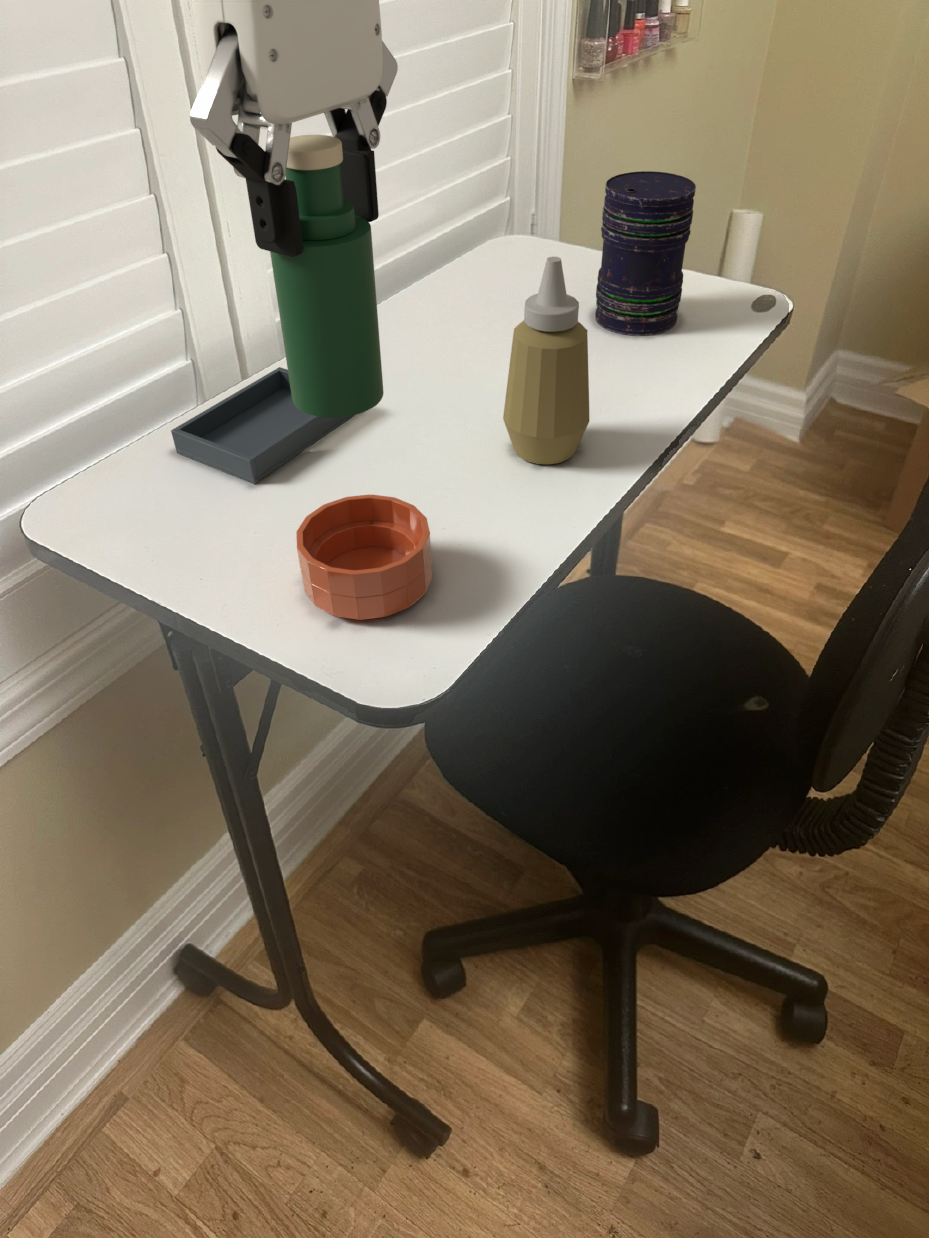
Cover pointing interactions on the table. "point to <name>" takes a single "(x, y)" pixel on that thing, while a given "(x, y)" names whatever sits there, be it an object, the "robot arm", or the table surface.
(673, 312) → the oil drum
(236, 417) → the tray
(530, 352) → the squeeze bottle
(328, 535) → the bowl
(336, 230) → the bottle
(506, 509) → the table surface
